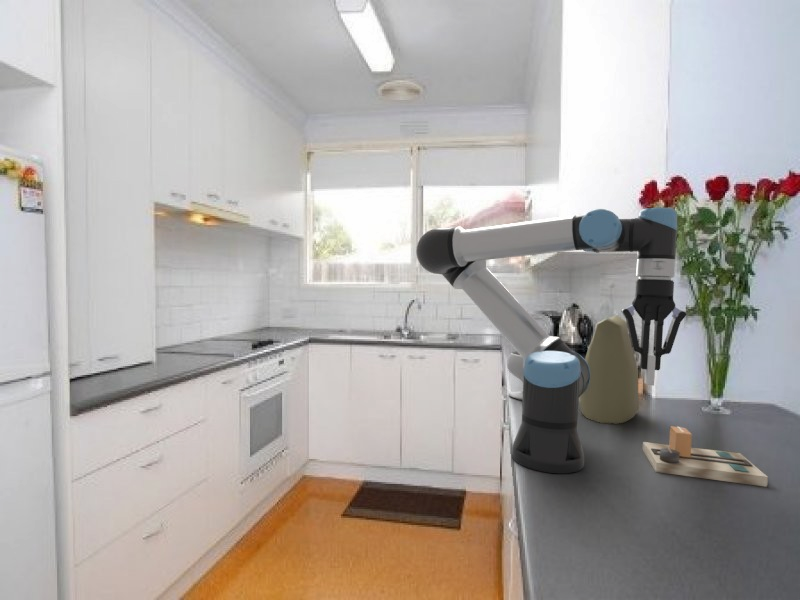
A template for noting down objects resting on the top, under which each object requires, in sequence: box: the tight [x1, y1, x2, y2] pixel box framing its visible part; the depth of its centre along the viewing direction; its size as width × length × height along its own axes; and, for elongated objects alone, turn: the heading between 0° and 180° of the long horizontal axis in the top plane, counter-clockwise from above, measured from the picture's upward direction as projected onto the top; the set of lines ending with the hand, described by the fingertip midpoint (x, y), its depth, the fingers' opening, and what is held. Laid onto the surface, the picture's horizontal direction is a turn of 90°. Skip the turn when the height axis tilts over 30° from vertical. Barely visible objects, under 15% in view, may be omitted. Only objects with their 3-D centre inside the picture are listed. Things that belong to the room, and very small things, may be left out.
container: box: [578, 314, 639, 425], centre depth 146 cm, size 24×17×30 cm
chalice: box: [506, 350, 524, 401], centre depth 164 cm, size 14×14×15 cm
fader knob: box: [668, 425, 693, 457], centre depth 106 cm, size 3×5×5 cm, turn 163°
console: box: [642, 441, 769, 488], centre depth 105 cm, size 20×14×4 cm
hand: (649, 384), depth 108 cm, fingers closed
